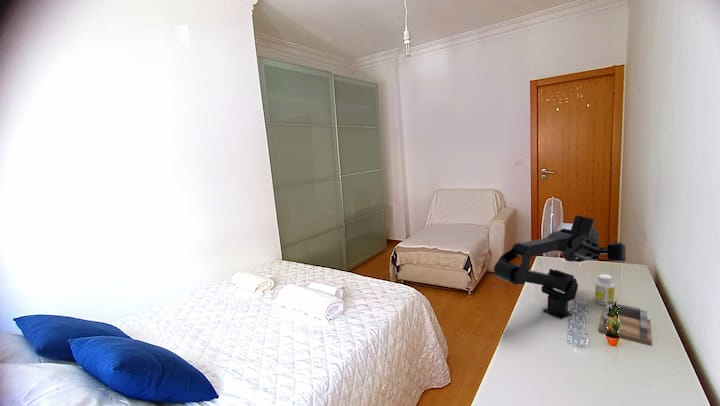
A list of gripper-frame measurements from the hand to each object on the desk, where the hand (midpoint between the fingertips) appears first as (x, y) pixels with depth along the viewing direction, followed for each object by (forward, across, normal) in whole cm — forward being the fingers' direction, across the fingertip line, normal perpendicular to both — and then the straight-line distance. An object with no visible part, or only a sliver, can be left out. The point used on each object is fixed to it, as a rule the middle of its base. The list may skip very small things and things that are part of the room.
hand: (605, 257), depth 117 cm
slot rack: (-8, -9, +24) cm, 27 cm away
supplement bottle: (+2, +2, +16) cm, 16 cm away
